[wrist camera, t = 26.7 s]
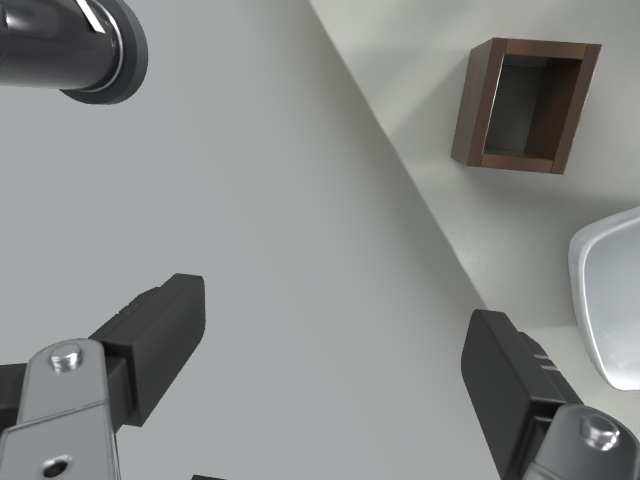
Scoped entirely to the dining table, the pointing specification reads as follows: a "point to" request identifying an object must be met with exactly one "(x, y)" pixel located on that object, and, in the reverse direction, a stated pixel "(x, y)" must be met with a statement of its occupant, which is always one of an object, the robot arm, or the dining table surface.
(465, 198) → the dining table surface
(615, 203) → the dining table surface
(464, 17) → the dining table surface
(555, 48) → the holder
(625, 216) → the bowl
